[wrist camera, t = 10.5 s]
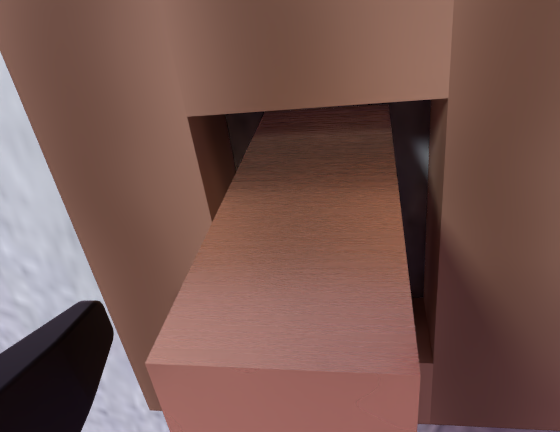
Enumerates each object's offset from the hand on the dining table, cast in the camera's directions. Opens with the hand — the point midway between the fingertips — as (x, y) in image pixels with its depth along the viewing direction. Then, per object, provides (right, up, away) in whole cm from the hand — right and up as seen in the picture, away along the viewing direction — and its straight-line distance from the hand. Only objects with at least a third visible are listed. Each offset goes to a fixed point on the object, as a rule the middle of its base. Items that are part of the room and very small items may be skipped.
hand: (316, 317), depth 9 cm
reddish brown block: (+1, +3, +4) cm, 5 cm away
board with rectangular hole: (+1, +2, +4) cm, 4 cm away
